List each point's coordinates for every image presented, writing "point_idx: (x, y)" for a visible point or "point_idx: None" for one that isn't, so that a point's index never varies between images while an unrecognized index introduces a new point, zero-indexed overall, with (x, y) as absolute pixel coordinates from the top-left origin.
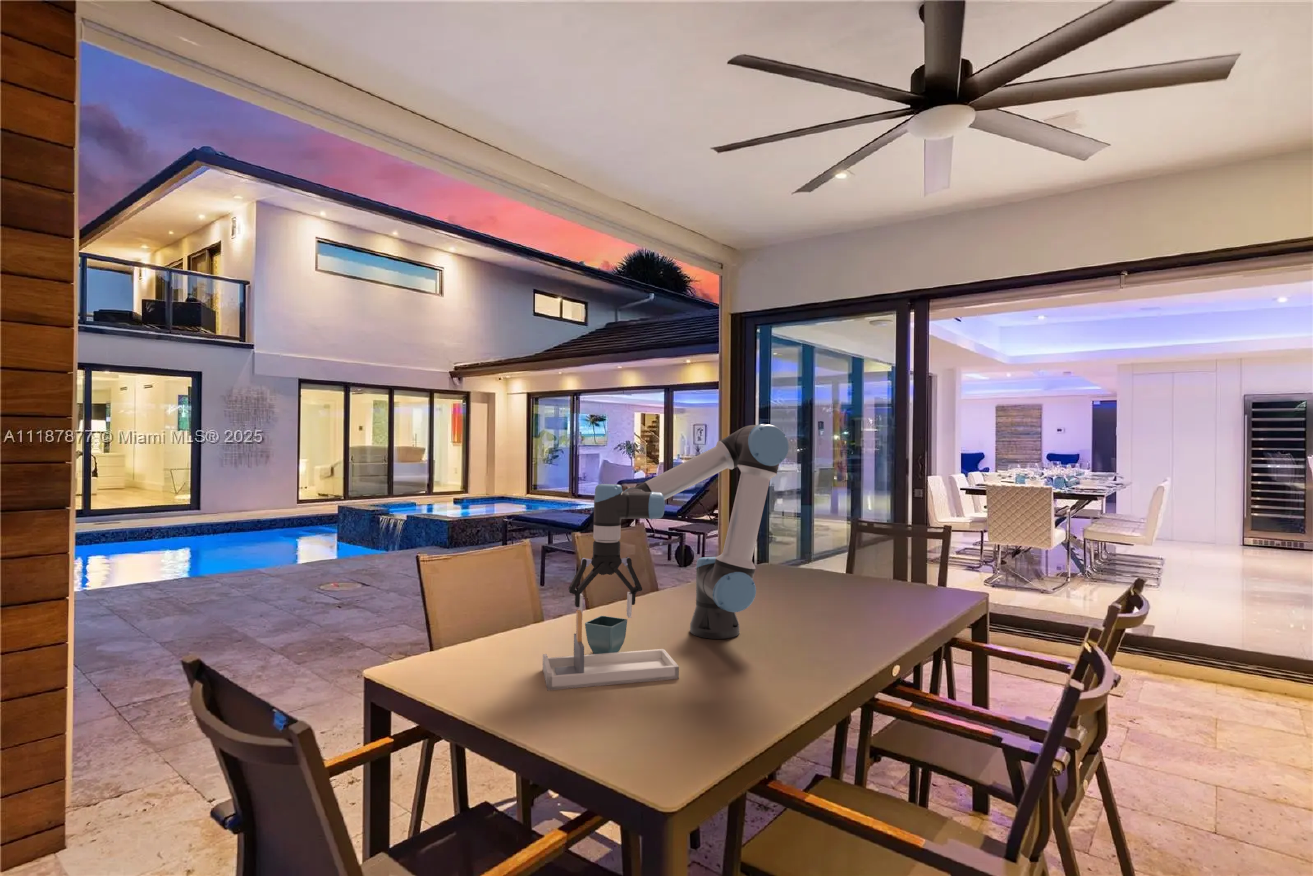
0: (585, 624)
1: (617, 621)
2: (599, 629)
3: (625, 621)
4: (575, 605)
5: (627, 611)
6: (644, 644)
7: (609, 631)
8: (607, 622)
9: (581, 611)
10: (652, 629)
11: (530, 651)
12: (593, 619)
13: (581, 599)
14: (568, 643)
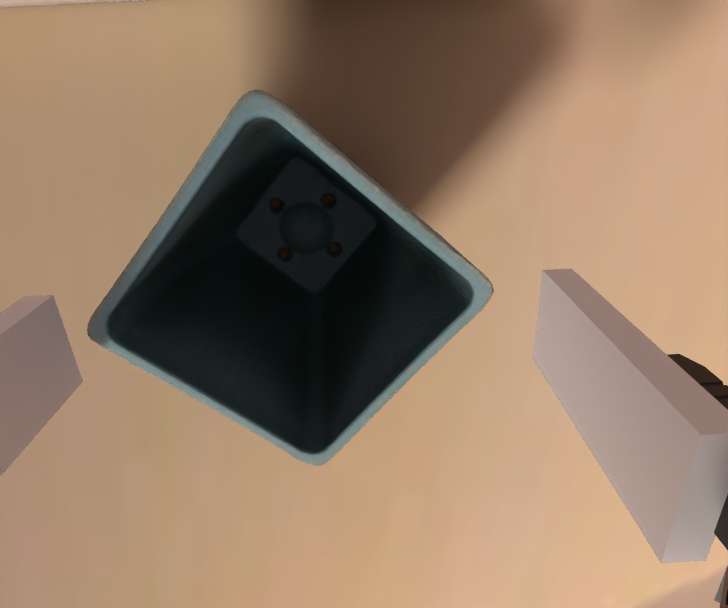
0: (487, 280)
1: (190, 363)
2: (369, 178)
3: (107, 298)
4: (701, 365)
5: (46, 380)
6: (73, 345)
7: (278, 100)
8: (276, 401)
9: (591, 308)
10: (43, 548)
11: (707, 329)
12: (399, 381)
13: (685, 395)
14: (489, 415)
